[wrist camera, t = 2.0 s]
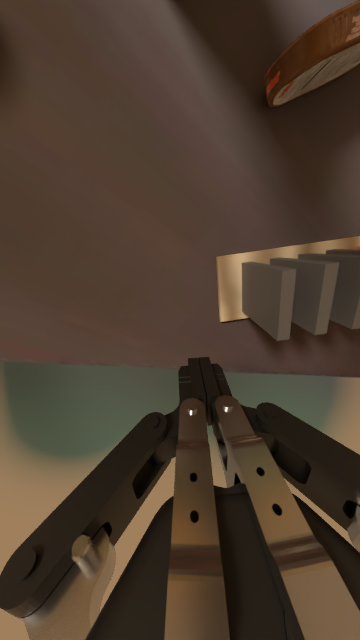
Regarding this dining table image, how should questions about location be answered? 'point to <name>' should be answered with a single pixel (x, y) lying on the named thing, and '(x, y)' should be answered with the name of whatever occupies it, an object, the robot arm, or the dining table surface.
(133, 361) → the dining table surface
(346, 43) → the tin
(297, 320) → the domino
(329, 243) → the board
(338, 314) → the domino
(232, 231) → the dining table surface
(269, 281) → the domino
